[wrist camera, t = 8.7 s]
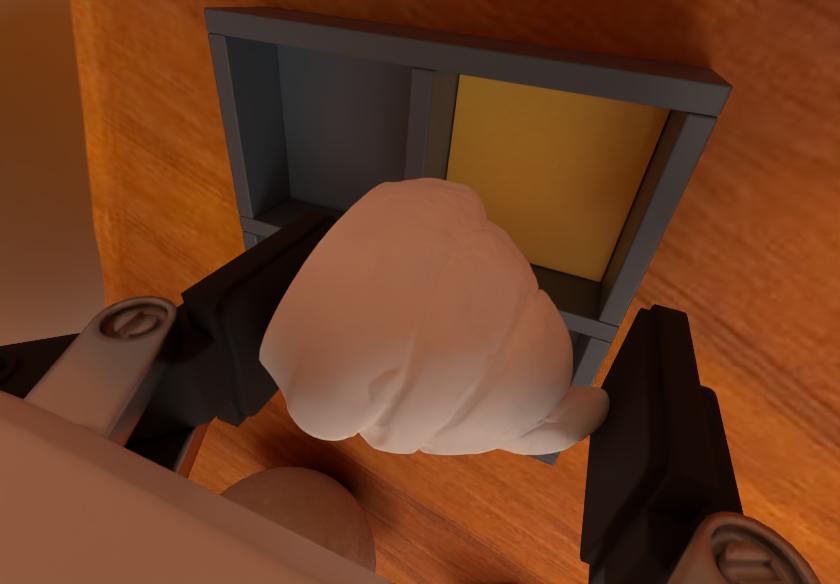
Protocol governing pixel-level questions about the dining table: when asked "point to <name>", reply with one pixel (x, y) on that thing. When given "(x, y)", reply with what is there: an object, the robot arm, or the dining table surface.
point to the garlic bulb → (426, 333)
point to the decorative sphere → (309, 509)
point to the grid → (468, 142)
